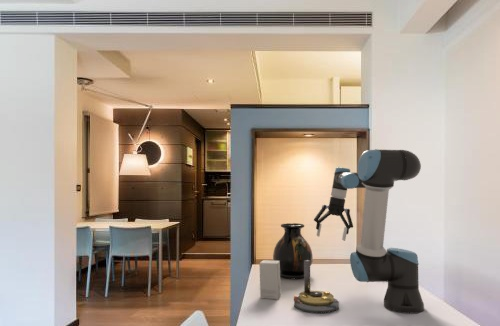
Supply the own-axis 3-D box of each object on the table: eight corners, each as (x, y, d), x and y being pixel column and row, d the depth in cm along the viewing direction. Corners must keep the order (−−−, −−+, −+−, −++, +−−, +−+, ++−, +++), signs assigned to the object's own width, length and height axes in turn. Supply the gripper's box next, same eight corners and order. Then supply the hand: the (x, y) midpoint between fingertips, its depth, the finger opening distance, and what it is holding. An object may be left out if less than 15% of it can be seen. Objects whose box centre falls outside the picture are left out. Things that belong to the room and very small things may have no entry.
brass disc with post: (340, 302, 150) (340, 264, 151) (313, 307, 144) (312, 268, 144) (318, 293, 163) (318, 258, 164) (291, 297, 156) (291, 261, 157)
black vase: (304, 283, 188) (303, 227, 189) (266, 278, 198) (266, 225, 200) (318, 274, 206) (318, 223, 208) (283, 270, 217) (283, 221, 218)
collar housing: (348, 308, 150) (348, 295, 150) (314, 316, 140) (314, 302, 141) (317, 296, 165) (317, 284, 166) (284, 303, 156) (284, 290, 156)
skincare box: (280, 295, 167) (280, 260, 168) (278, 300, 161) (277, 263, 162) (262, 294, 169) (262, 259, 170) (259, 298, 163) (259, 262, 164)
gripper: (358, 200, 195) (351, 240, 196) (312, 192, 194) (305, 232, 194) (364, 202, 188) (356, 243, 188) (316, 194, 186) (308, 235, 186)
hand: (330, 238), depth 191 cm, fingers open, 13 cm apart
